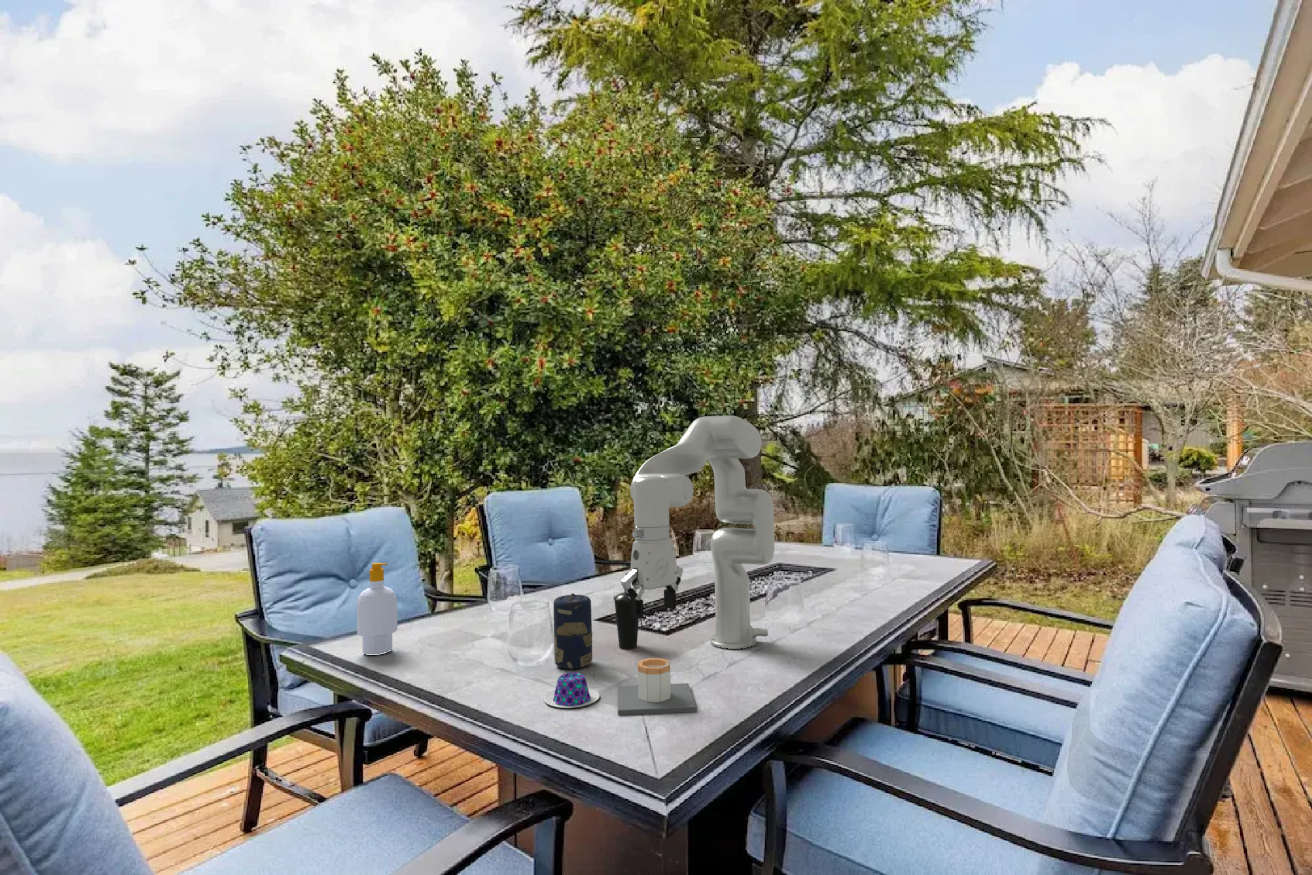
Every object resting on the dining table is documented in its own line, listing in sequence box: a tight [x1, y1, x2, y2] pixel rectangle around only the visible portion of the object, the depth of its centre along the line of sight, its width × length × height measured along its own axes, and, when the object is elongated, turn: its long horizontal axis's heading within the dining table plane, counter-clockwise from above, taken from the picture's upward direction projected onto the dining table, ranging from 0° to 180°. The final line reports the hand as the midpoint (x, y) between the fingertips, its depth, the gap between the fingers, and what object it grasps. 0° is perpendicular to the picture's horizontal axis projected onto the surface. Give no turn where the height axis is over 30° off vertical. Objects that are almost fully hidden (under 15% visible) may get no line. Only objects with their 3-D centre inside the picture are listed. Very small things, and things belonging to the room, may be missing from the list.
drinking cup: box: [612, 573, 640, 650], centre depth 186 cm, size 8×8×20 cm
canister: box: [553, 593, 593, 670], centre depth 171 cm, size 10×10×18 cm
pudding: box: [543, 672, 600, 709], centre depth 148 cm, size 12×12×5 cm
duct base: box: [617, 682, 697, 716], centre depth 146 cm, size 16×14×6 cm
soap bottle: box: [356, 562, 398, 655], centre depth 185 cm, size 10×10×24 cm
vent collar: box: [637, 657, 671, 702], centre depth 146 cm, size 7×7×7 cm
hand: (654, 612), depth 146 cm, fingers open, 9 cm apart
